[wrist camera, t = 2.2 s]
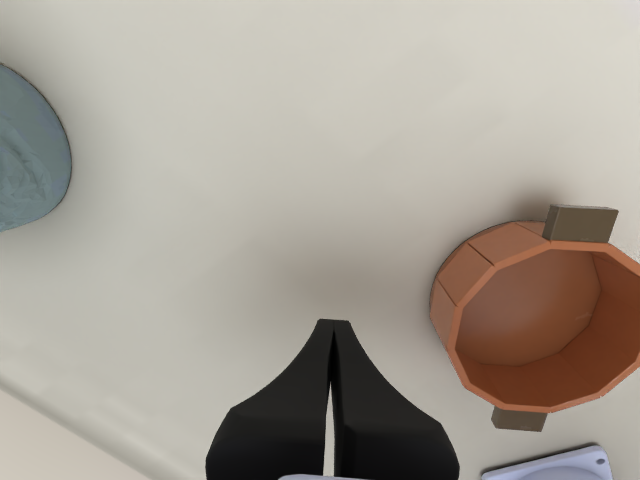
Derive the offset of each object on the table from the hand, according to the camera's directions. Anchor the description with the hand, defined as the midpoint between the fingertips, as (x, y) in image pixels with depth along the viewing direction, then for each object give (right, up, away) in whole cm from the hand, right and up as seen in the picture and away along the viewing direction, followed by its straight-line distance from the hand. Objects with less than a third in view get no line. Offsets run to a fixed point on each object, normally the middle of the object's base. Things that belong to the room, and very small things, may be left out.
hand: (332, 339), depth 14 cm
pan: (+10, +1, +4) cm, 11 cm away
